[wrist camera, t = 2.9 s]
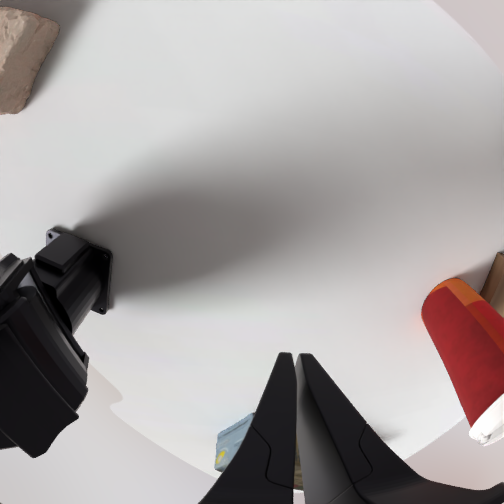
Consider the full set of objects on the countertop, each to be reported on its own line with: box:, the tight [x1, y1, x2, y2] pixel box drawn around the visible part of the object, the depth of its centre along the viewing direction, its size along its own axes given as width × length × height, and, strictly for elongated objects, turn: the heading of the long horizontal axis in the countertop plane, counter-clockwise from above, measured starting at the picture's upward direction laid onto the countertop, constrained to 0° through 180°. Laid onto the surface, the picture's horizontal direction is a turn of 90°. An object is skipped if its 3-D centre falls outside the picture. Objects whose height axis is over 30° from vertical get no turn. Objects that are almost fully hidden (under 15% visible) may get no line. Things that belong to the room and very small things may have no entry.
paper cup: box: [421, 278, 504, 446], centre depth 17 cm, size 8×8×14 cm
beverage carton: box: [214, 413, 304, 491], centre depth 31 cm, size 8×19×7 cm, turn 53°
